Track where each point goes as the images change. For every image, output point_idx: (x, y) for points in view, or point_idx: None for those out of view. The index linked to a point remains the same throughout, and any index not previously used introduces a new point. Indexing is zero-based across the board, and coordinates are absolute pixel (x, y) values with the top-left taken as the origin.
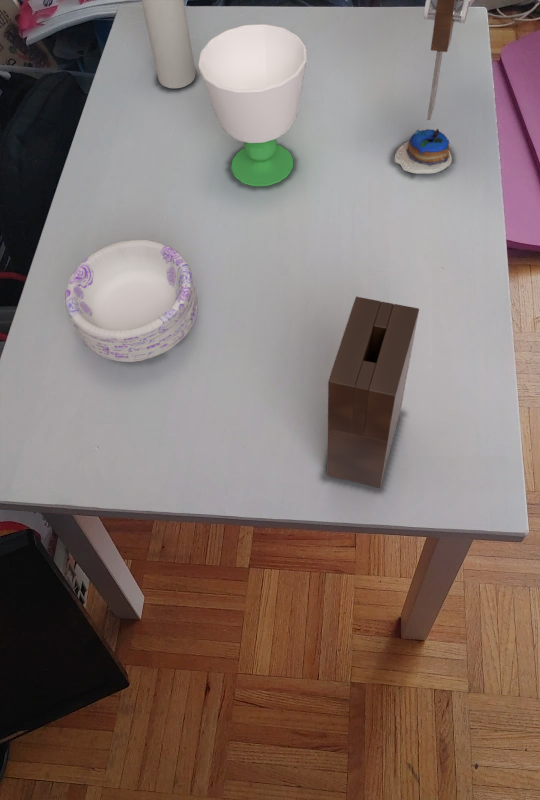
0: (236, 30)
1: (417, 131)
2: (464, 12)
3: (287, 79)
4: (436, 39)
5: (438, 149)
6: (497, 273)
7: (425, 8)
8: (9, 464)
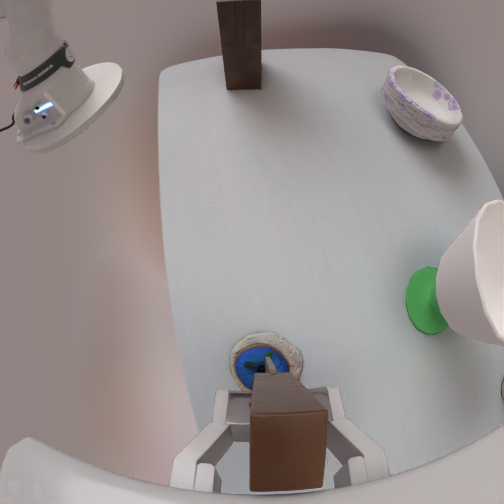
0: None
1: None
2: (219, 398)
3: (476, 229)
4: (284, 376)
5: (246, 353)
6: (162, 209)
7: (338, 395)
8: (405, 64)
